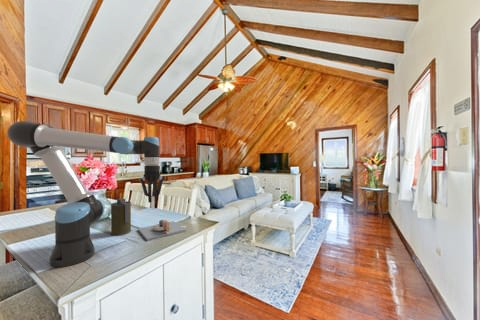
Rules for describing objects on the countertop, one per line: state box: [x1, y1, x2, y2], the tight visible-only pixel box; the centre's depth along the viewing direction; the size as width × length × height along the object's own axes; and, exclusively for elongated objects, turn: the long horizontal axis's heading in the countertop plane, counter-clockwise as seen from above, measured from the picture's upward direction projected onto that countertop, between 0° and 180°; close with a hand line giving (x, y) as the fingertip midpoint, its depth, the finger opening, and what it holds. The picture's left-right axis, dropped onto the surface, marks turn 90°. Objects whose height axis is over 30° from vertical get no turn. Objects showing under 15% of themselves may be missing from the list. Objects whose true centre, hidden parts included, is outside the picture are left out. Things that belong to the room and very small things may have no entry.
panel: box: [137, 221, 187, 242], centre depth 120 cm, size 24×20×2 cm
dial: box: [152, 219, 171, 232], centre depth 118 cm, size 15×10×6 cm, turn 40°
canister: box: [110, 197, 132, 237], centre depth 117 cm, size 11×10×20 cm
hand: (152, 207), depth 108 cm, fingers closed
